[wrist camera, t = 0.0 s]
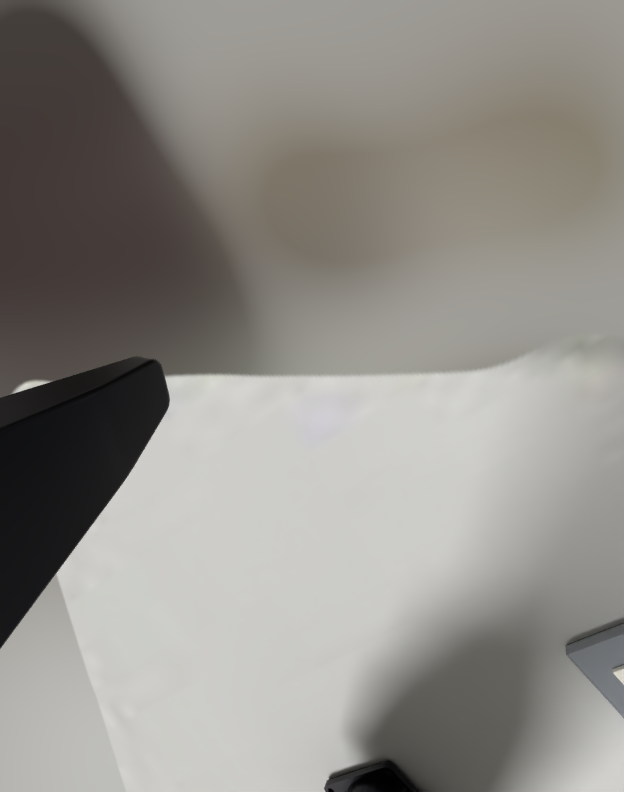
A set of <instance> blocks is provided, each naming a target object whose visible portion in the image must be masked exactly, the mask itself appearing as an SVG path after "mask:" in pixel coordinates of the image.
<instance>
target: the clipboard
mask: <svg viewBox="0 0 624 792" xmlns="http://www.w3.org/2000/svg"><path fill="white" fill-rule="evenodd" d="M566 655H567V656H568V657H569V658H570V659H571V661H572V662H573V663H574V664H575V665H576V666H577V667H578V668H579V669H580V670H581V672H582V673H583V674H584V675H585V676H586V677H587V678H588V679H589V680H590V681H591V683H592V684H593V685H594V686H595V687H596V688H597V689H598V690H599V691H600V692H601V693H602V695H603V696H604V697H605V698H606V699H607V700H608V701H609V702H610V703H611V704H612V706H613V707H614V708H615V709H616V710H617V711H618V712H619V713H620V714H621V715H622V717H623V718H624V623H623V624H621V625H618V626H616V627H613V628H610V629H608V630H605V631H603V632H600V633H597V634H595V635H592V636H590V637H587V638H585V639H582V640H579V641H577V642H574V643H572V644H569V645H567V646H566Z"/></svg>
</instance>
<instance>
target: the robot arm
mask: <svg viewBox="0 0 624 792" xmlns="http://www.w3.org/2000/svg"><path fill="white" fill-rule="evenodd" d="M169 402H170V397H169V392H168V388H167V384H166V380H165V376H164V372H163V368H162V365H161V364H160V362H159V361H157V360H156V359H152V358H147V357H142V356H135V357H131V358H128V359H125V360H122V361H118V362H115V363H112V364H108V365H105V366H102V367H99V368H96V369H92V370H89V371H86V372H83V373H79V374H76V375H73V376H70V377H66V378H63V379H60V380H57V381H53V382H50V383H47V384H44V385H40V386H37V387H34V388H31V389H27V390H24V391H21V392H18V393H14V394H11V395H8V396H5V397H2V398H0V648H1V647H2V646H3V645H4V643H5V642H6V641H7V639H8V638H9V636H10V635H11V634H12V632H13V631H14V630H15V628H16V627H17V626H18V624H19V623H20V622H21V620H22V619H23V618H24V616H25V615H26V613H27V612H28V611H29V609H30V608H31V607H32V605H33V604H34V603H35V601H36V600H37V599H38V597H39V596H40V595H41V593H42V592H43V590H44V589H45V588H46V586H47V585H48V584H49V582H50V581H51V579H52V578H53V577H54V576H55V574H56V573H57V572H58V570H59V569H60V568H61V566H62V565H63V564H64V562H65V561H66V559H67V558H68V557H69V555H70V554H71V553H72V551H73V550H74V549H75V547H76V546H77V545H78V543H79V542H80V541H81V539H82V538H83V536H84V535H85V534H86V532H87V531H88V530H89V528H90V527H91V526H92V524H93V523H94V522H95V520H96V519H97V518H98V516H99V515H100V514H101V512H102V511H103V509H104V508H105V507H106V505H107V504H108V503H109V501H110V500H111V499H112V497H113V496H114V495H115V493H116V492H117V491H118V489H119V488H120V486H121V485H122V484H123V482H124V481H125V479H126V478H127V477H128V475H129V473H130V472H131V470H132V469H133V467H134V465H135V464H136V462H137V460H138V459H139V457H140V455H141V454H142V452H143V450H144V449H145V447H146V445H147V444H148V442H149V440H150V439H151V437H152V435H153V434H154V432H155V430H156V429H157V427H158V425H159V423H160V422H161V420H162V418H163V417H164V415H165V413H166V412H167V410H168V407H169ZM324 789H325V791H326V792H419V791H418V790H417V789H416V788H415V787H414V786H413V785H412V784H411V782H410V781H409V780H408V779H407V778H406V777H405V776H404V775H403V774H402V772H401V771H400V770H399V769H398V768H397V767H396V766H395V765H394V764H393V763H391V762H387V761H386V762H382V763H379V764H376V765H373V766H369V767H366V768H363V769H360V770H357V771H354V772H351V773H348V774H345V775H342V776H339V777H336V778H333V779H330V780H327V782H326V785H325V788H324Z"/></svg>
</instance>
